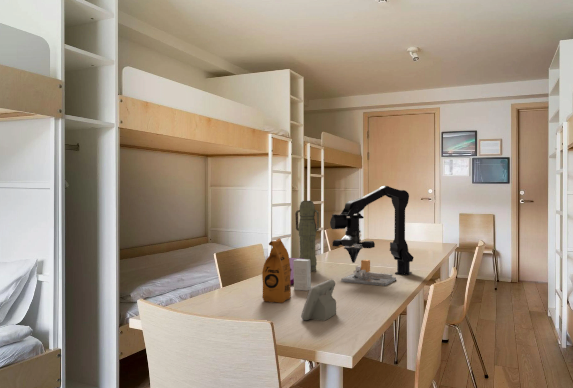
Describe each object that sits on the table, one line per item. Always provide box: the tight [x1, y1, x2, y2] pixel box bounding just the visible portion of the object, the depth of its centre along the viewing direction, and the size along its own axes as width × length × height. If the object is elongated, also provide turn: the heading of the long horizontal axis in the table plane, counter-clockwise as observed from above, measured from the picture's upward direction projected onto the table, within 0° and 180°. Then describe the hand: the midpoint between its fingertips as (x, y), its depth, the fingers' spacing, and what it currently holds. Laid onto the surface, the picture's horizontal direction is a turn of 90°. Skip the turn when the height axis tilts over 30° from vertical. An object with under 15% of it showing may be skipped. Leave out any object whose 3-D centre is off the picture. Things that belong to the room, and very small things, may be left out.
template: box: [340, 265, 397, 287], centre depth 197 cm, size 14×20×5 cm
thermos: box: [294, 200, 320, 272], centre depth 226 cm, size 9×12×35 cm
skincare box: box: [293, 259, 312, 292], centre depth 182 cm, size 6×4×12 cm
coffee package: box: [261, 238, 292, 304], centre depth 166 cm, size 10×12×22 cm
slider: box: [360, 259, 371, 277], centre depth 201 cm, size 7×3×7 cm, turn 148°
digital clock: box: [300, 279, 337, 322], centre depth 143 cm, size 16×9×11 cm, turn 139°
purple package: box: [289, 257, 304, 285], centre depth 199 cm, size 9×8×18 cm
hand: (353, 262), depth 206 cm, fingers closed
